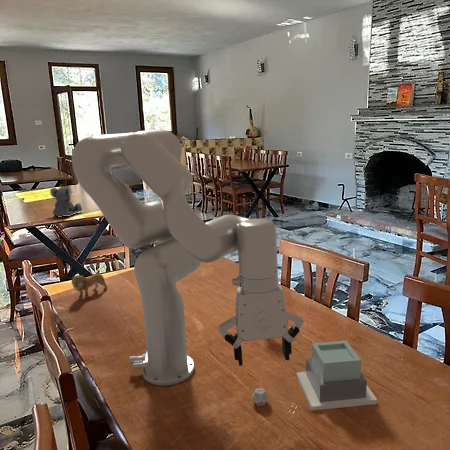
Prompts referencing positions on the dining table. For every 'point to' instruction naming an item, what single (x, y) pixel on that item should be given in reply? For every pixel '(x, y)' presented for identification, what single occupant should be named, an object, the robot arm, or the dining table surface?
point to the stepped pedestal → (334, 378)
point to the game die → (260, 396)
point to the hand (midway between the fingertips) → (263, 359)
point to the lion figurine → (87, 283)
